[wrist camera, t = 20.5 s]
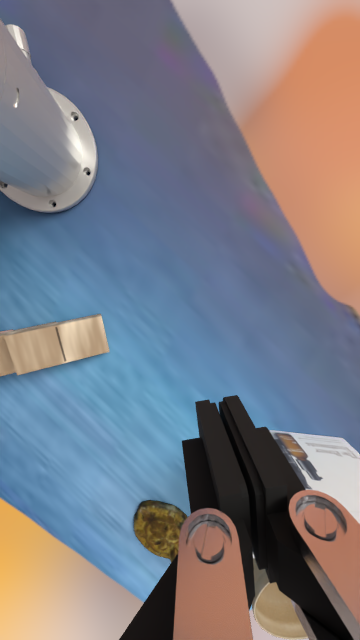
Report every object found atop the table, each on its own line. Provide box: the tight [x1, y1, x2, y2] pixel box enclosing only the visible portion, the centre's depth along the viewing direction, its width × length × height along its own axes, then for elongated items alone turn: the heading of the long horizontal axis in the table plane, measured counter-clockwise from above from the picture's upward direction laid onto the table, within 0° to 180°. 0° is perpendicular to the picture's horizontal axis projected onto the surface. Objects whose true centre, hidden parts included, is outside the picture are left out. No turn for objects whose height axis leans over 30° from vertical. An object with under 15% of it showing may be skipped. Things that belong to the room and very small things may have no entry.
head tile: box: [4, 314, 109, 375], centre depth 32 cm, size 2×5×11 cm
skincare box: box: [253, 430, 360, 558], centre depth 34 cm, size 21×5×16 cm, turn 80°
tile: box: [0, 322, 57, 376], centre depth 32 cm, size 2×5×11 cm
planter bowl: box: [252, 558, 308, 640], centre depth 41 cm, size 16×16×11 cm
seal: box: [134, 500, 187, 563], centre depth 43 cm, size 9×5×15 cm
